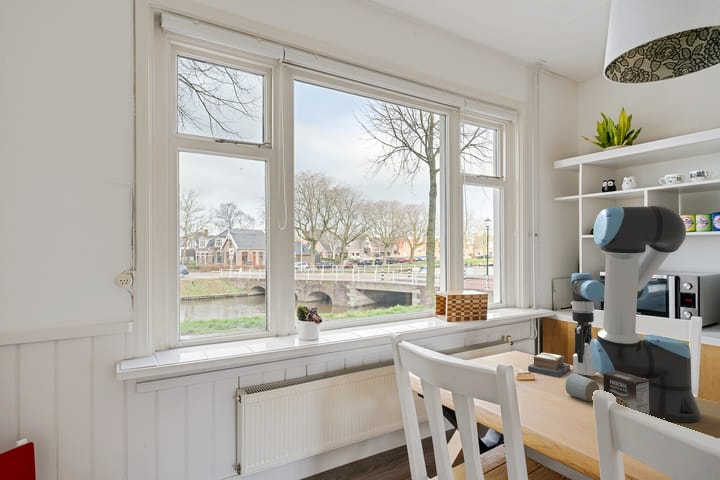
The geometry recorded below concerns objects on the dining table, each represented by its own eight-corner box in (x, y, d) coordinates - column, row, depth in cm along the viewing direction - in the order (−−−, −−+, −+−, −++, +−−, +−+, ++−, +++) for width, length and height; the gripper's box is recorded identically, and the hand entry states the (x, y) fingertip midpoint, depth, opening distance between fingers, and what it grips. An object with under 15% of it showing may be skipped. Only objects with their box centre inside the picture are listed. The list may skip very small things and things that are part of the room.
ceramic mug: (587, 404, 133) (587, 381, 133) (565, 396, 140) (564, 374, 140) (606, 399, 138) (606, 376, 138) (584, 391, 145) (583, 370, 145)
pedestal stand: (558, 377, 161) (557, 362, 161) (528, 371, 169) (527, 356, 169) (570, 369, 171) (569, 355, 171) (541, 363, 179) (540, 350, 179)
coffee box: (603, 429, 115) (601, 373, 115) (617, 425, 117) (616, 369, 118) (636, 443, 106) (634, 382, 107) (651, 438, 109) (649, 378, 109)
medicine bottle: (576, 369, 167) (575, 339, 167) (596, 372, 162) (595, 342, 163) (572, 373, 161) (571, 343, 162) (593, 376, 157) (592, 345, 157)
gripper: (580, 308, 172) (582, 361, 172) (564, 313, 158) (565, 372, 157) (600, 309, 167) (602, 365, 166) (585, 315, 153) (587, 376, 152)
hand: (584, 368), depth 162 cm, fingers closed on medicine bottle, 7 cm apart
